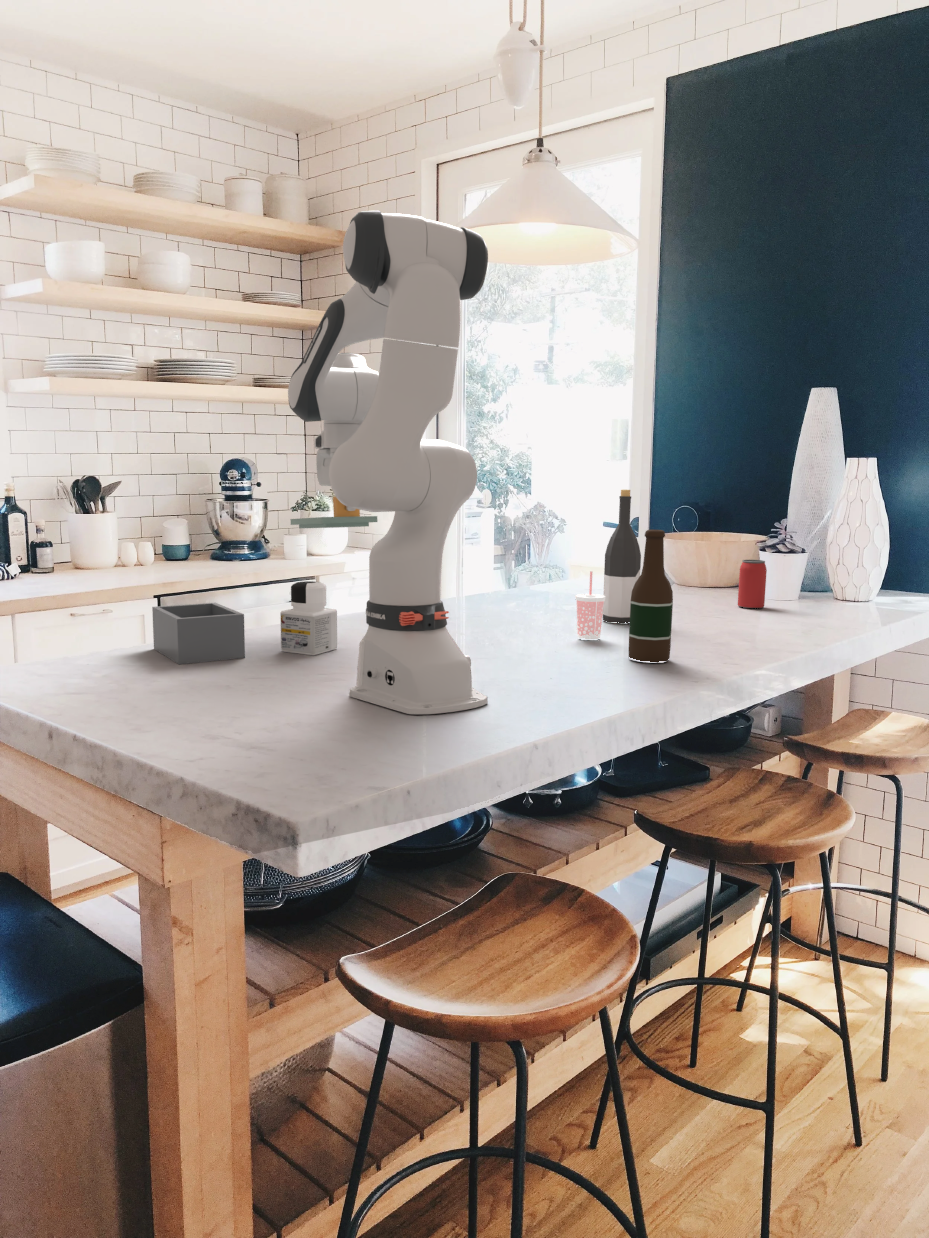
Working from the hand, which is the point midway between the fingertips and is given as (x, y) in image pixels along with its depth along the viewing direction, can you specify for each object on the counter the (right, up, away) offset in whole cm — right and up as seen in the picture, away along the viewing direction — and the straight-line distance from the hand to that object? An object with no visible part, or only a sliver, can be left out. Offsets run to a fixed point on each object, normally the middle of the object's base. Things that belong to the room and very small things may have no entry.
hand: (346, 510), depth 191 cm
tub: (-26, -28, -14) cm, 40 cm away
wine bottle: (+59, -22, +30) cm, 70 cm away
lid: (-3, -2, +6) cm, 7 cm away
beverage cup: (+49, -26, +7) cm, 56 cm away
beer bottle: (+58, -29, -14) cm, 66 cm away
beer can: (+97, -19, +54) cm, 112 cm away
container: (-6, -28, -9) cm, 30 cm away
